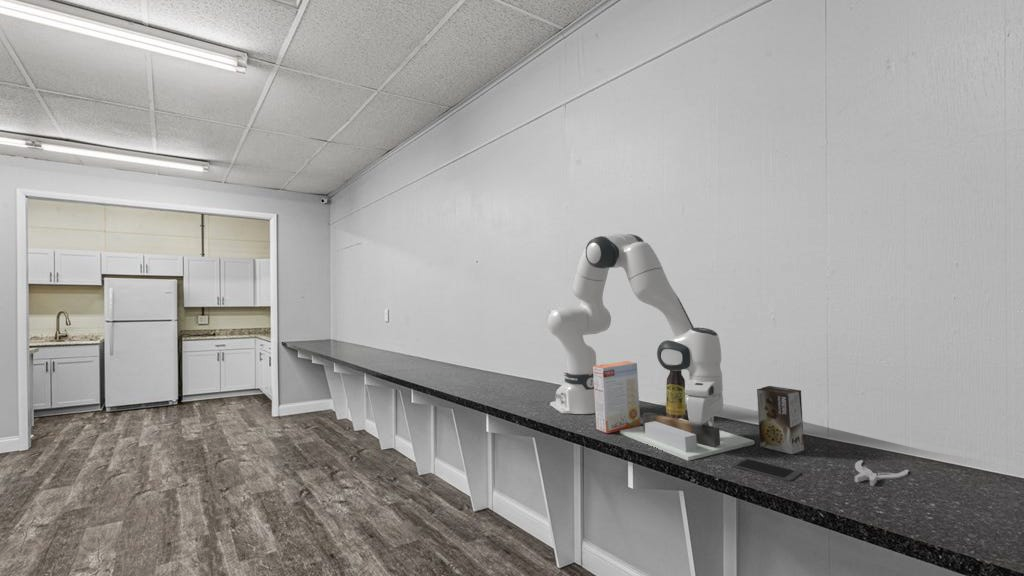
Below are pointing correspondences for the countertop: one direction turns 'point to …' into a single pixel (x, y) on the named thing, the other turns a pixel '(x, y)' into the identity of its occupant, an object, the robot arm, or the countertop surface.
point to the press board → (695, 454)
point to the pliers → (873, 477)
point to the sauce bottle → (675, 395)
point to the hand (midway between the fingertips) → (707, 432)
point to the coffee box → (780, 419)
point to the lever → (688, 428)
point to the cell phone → (767, 469)
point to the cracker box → (616, 396)
